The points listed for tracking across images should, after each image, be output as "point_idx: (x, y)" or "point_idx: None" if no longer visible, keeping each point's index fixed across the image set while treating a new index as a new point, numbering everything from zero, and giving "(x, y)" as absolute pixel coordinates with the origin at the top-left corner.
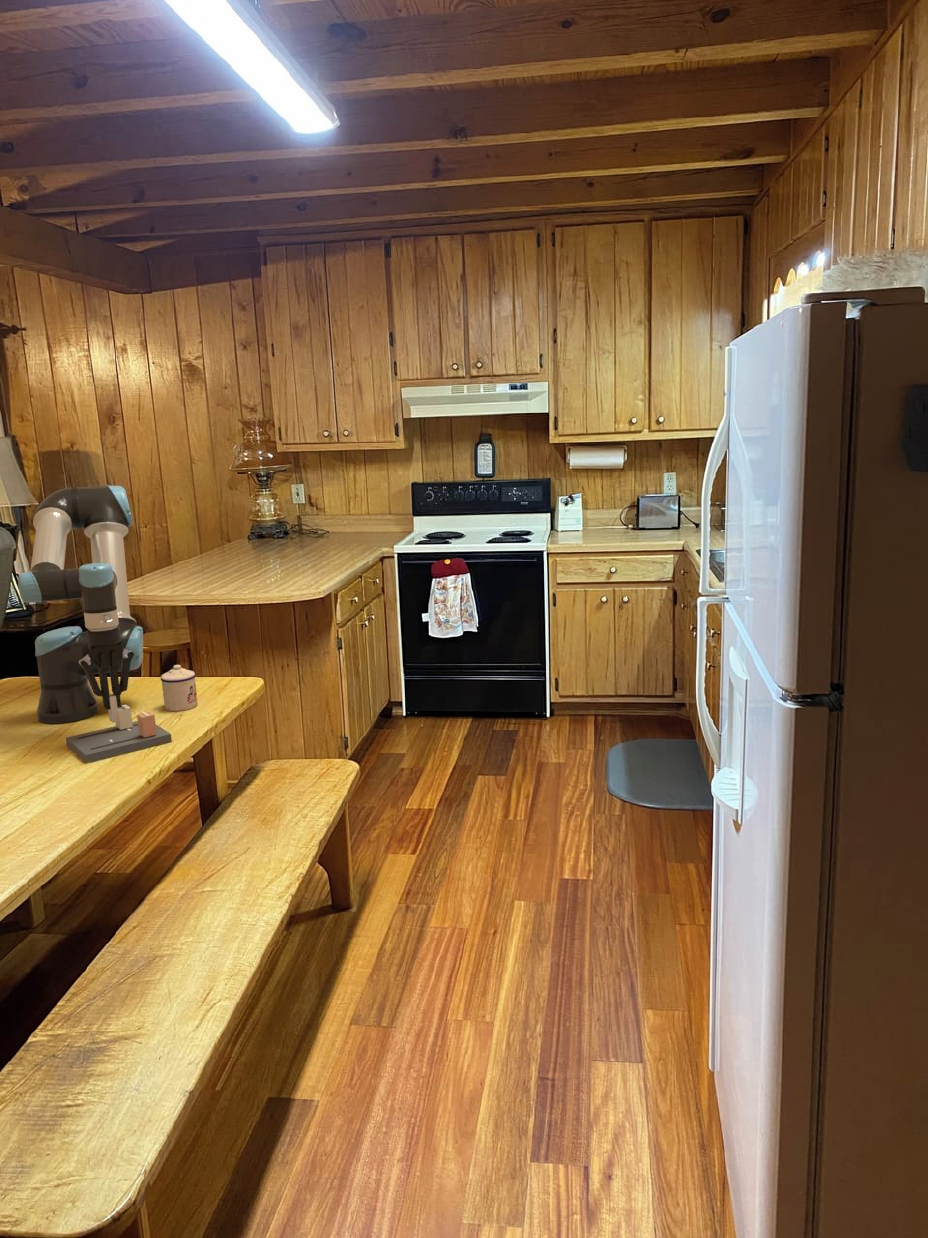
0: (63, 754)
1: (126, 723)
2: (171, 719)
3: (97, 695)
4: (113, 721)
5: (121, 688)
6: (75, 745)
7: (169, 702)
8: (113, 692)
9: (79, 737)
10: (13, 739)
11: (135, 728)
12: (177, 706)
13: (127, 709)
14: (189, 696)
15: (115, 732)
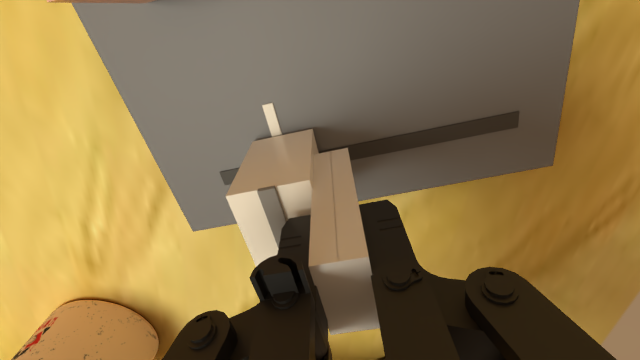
0: (593, 29)
1: (277, 145)
2: (120, 240)
3: (515, 275)
4: (344, 151)
5: (236, 348)
6: (575, 2)
7: (119, 340)
8: (323, 326)
9: (508, 127)
10: (627, 295)
11: (241, 125)
12: (98, 315)
13: (247, 187)
14: (29, 345)
15: (339, 114)
